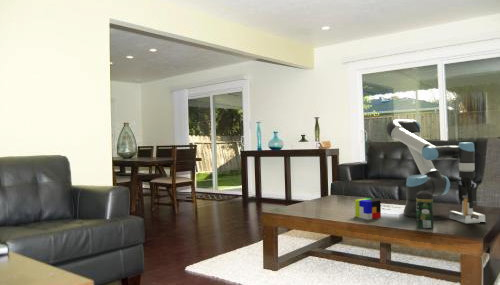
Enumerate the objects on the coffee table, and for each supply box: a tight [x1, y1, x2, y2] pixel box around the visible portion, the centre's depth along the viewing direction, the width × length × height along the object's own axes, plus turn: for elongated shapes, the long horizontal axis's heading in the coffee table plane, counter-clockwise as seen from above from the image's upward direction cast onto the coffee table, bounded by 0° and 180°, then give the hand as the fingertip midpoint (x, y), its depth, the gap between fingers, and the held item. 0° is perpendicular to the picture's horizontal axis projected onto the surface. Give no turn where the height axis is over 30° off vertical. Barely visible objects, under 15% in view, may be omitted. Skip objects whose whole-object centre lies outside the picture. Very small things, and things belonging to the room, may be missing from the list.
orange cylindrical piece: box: [463, 195, 471, 216], centre depth 214 cm, size 4×4×11 cm
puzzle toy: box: [354, 197, 382, 221], centre depth 229 cm, size 10×10×10 cm
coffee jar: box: [416, 191, 434, 230], centre depth 202 cm, size 10×8×19 cm
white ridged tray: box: [448, 210, 486, 224], centre depth 215 cm, size 11×14×4 cm
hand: (467, 213), depth 214 cm, fingers closed on orange cylindrical piece, 3 cm apart
